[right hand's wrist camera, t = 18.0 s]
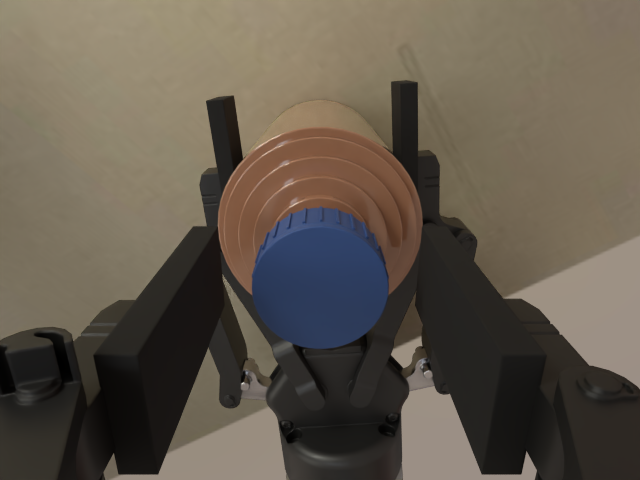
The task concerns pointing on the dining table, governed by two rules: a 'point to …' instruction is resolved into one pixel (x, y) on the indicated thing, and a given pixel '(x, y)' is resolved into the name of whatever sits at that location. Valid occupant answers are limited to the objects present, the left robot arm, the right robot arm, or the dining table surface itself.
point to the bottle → (320, 186)
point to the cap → (320, 279)
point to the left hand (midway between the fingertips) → (311, 90)
